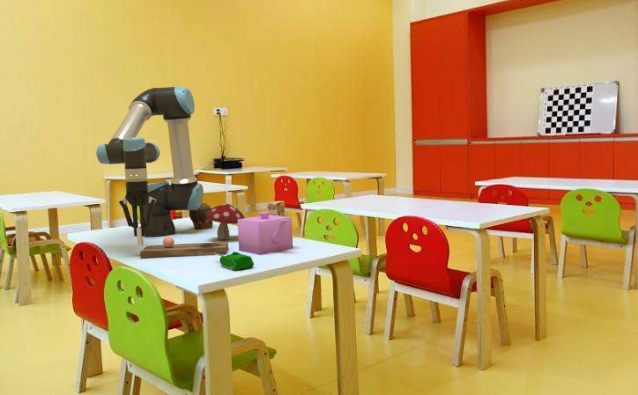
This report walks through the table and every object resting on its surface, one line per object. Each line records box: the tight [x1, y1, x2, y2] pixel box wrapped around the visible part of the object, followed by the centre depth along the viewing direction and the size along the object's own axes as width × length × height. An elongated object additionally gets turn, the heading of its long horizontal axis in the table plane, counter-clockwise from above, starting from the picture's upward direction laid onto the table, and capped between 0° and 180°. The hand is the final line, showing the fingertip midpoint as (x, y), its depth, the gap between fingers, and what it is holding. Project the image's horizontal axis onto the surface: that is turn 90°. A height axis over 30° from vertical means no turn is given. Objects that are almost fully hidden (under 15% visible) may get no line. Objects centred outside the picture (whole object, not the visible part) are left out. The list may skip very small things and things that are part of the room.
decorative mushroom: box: [206, 203, 245, 241], centre depth 237 cm, size 16×16×15 cm
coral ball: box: [162, 235, 175, 247], centre depth 210 cm, size 4×4×4 cm
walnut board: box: [139, 241, 229, 260], centre depth 211 cm, size 12×30×2 cm, turn 95°
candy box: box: [267, 200, 286, 217], centre depth 234 cm, size 9×4×15 cm, turn 163°
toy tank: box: [213, 251, 255, 272], centre depth 188 cm, size 7×19×5 cm, turn 35°
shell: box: [188, 202, 214, 230], centre depth 273 cm, size 11×11×12 cm
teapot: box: [237, 211, 294, 256], centre depth 212 cm, size 15×25×14 cm, turn 42°
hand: (140, 245), depth 209 cm, fingers closed
